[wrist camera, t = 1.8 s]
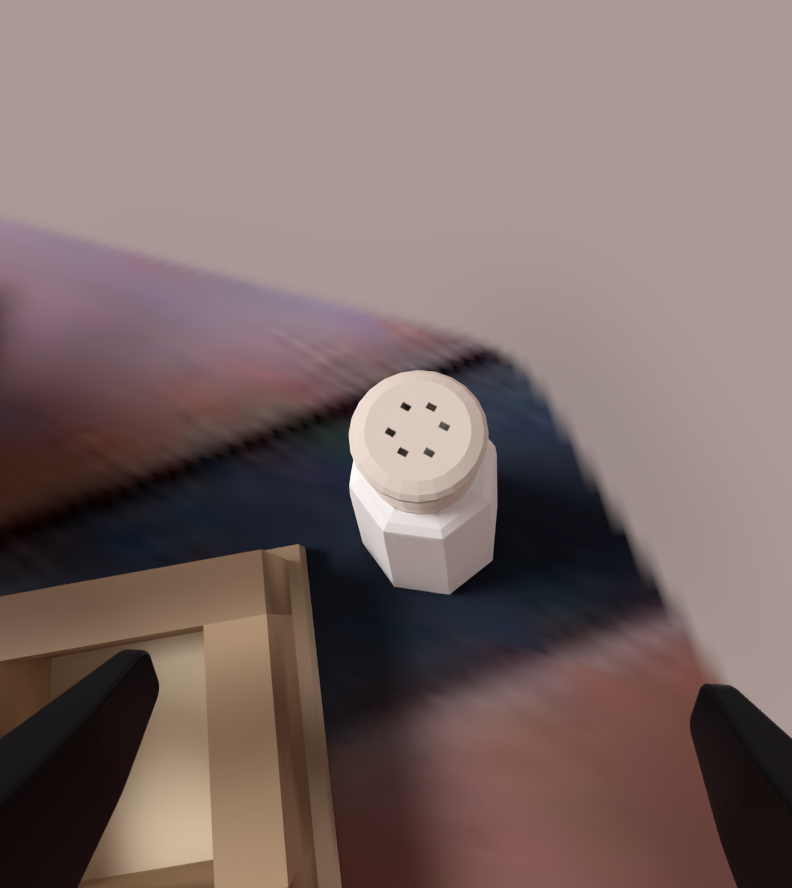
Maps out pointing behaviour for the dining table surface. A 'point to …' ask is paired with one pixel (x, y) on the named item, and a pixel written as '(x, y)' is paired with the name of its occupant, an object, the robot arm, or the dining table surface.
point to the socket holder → (196, 717)
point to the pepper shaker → (424, 480)
